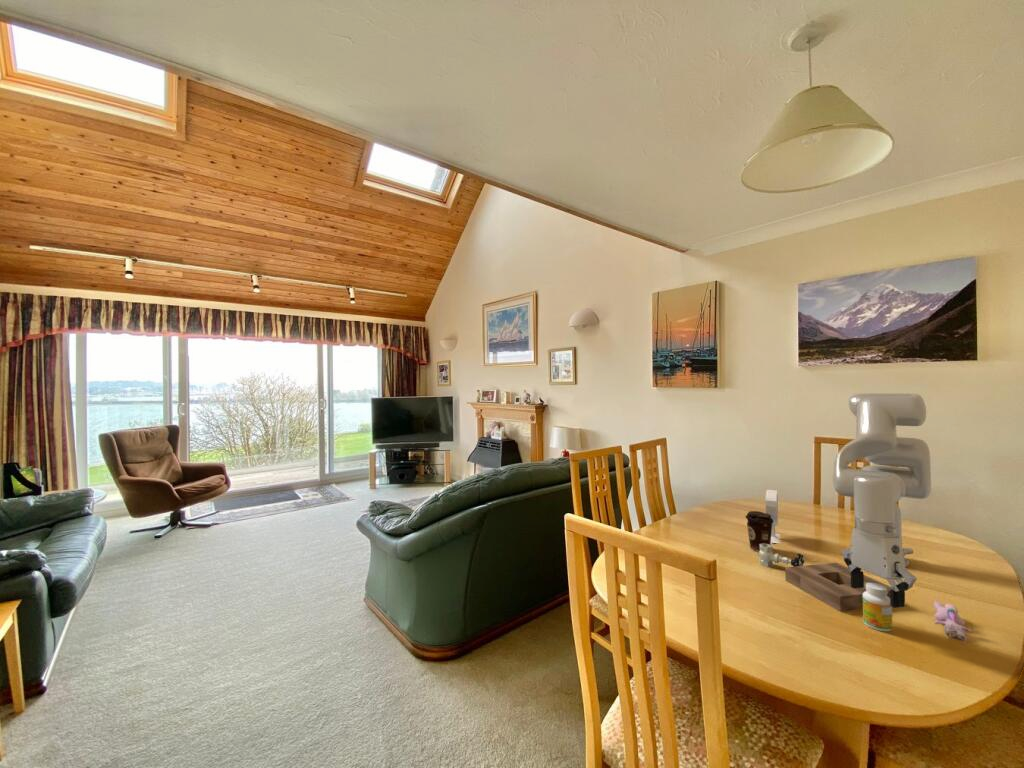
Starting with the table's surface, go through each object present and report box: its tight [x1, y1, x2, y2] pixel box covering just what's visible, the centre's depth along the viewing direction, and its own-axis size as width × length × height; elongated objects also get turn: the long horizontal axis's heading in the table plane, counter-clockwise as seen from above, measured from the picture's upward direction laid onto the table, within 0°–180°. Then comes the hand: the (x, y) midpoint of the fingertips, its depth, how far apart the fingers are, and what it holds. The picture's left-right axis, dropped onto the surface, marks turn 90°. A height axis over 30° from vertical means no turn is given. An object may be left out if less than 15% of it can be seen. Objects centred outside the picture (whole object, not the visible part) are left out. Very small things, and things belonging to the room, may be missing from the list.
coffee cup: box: [745, 510, 773, 553], centre depth 150 cm, size 9×8×13 cm
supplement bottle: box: [862, 583, 893, 632], centre depth 102 cm, size 5×5×10 cm
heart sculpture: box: [765, 489, 781, 544], centre depth 161 cm, size 16×5×18 cm, turn 146°
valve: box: [758, 544, 805, 568], centre depth 134 cm, size 7×7×12 cm
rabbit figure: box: [933, 601, 973, 644], centre depth 100 cm, size 6×6×15 cm
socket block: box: [784, 562, 893, 613], centre depth 118 cm, size 18×18×4 cm
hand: (876, 596), depth 101 cm, fingers open, 9 cm apart
